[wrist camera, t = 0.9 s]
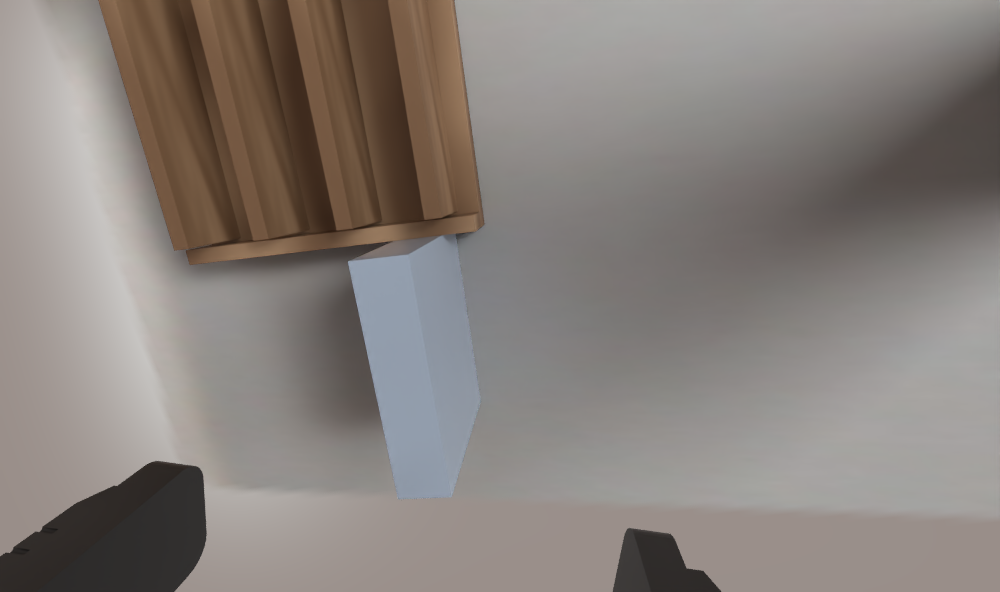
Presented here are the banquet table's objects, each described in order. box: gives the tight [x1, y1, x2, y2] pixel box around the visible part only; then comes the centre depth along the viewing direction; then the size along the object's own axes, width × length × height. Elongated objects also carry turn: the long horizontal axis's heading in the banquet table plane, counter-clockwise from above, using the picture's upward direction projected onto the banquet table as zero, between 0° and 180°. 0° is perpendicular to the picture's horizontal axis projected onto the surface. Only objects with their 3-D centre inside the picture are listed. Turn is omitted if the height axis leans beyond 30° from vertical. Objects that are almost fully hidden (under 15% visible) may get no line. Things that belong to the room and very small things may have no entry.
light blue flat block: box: [348, 234, 481, 499], centre depth 24 cm, size 2×11×9 cm, turn 7°
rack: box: [98, 0, 484, 265], centre depth 23 cm, size 16×15×5 cm
